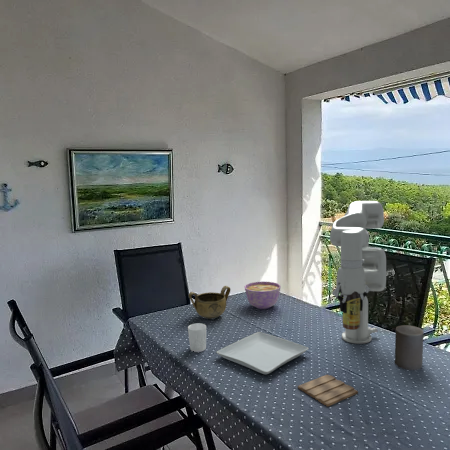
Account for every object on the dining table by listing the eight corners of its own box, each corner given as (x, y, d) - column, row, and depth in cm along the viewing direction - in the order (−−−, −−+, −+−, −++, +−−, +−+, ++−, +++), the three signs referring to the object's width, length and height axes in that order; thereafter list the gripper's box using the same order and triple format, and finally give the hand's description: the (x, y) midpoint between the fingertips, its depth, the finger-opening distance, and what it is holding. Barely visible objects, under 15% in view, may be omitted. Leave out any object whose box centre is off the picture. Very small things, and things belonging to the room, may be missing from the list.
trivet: (327, 376, 151) (327, 373, 150) (357, 393, 139) (357, 390, 139) (297, 388, 143) (297, 385, 143) (327, 406, 132) (327, 403, 131)
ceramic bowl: (224, 308, 229) (223, 282, 227) (237, 318, 214) (236, 289, 212) (185, 315, 220) (184, 288, 218) (196, 326, 205) (195, 296, 203)
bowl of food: (288, 305, 230) (288, 285, 229) (266, 315, 216) (265, 293, 215) (260, 298, 244) (259, 279, 243) (237, 307, 230) (236, 287, 228)
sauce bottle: (351, 331, 152) (350, 279, 150) (338, 326, 158) (338, 275, 155) (364, 328, 155) (363, 276, 153) (351, 323, 161) (351, 273, 158)
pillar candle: (389, 361, 160) (389, 324, 158) (407, 356, 164) (408, 320, 161) (409, 373, 151) (410, 333, 149) (428, 367, 155) (430, 328, 153)
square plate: (259, 338, 188) (258, 330, 187) (310, 356, 168) (310, 347, 168) (215, 359, 169) (214, 350, 168) (267, 381, 150) (267, 371, 149)
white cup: (210, 346, 180) (209, 324, 179) (202, 354, 173) (200, 331, 172) (194, 344, 184) (193, 322, 182) (185, 351, 177) (184, 328, 175)
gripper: (365, 259, 159) (365, 305, 162) (325, 264, 155) (325, 310, 157) (377, 263, 152) (377, 311, 154) (336, 268, 147) (336, 317, 150)
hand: (351, 310), depth 156 cm, fingers closed on sauce bottle, 6 cm apart
